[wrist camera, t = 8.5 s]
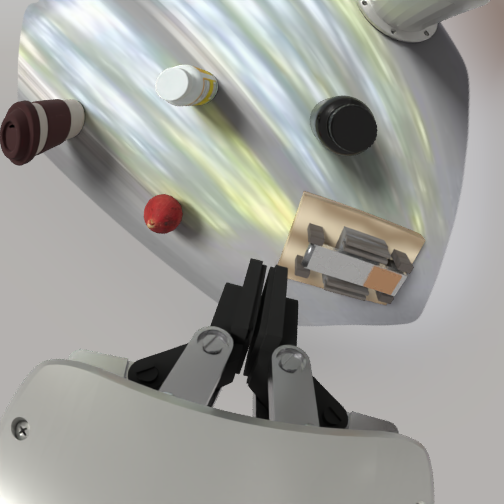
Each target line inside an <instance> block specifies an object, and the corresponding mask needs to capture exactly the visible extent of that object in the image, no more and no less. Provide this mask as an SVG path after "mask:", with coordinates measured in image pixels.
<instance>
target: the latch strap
mask: <svg viewBox="0 0 504 504" xmlns="http://www.w3.org/2000/svg"><path fill="white" fill-rule="evenodd" d="M301 265H302V266H303V267H304V268H306V269H310V270H313V271H316V272H319V273H322V274H325V275H329V276H332V277H335V278H338V279H341V280H344V281H348V282H351V283H354V284H357V285H360V286H364V287H367V288H370V289H373V290H376V291H379V292H383V293H386V294H389V295H392V296H395V295H396V293H397V292H398V290H399V289H400V287H401V286H402V284H403V283H404V281H405V279H406V278H407V275H406V273H405V272H403V271H400V270H397V269H394V268H391V267H389V266H386V265H383V264H380V263H377V262H375V261H372V260H369V259H366V258H363V257H360V256H357V255H354V254H352V253H349V252H346V251H343V250H340V249H337V248H334V247H331V246H328V245H325V244H323V246H319V245H316V244H313V243H309V245H308V247H307V249H306V252H305V254H304V257H303V259H302V261H301Z"/></svg>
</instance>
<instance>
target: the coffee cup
mask: <svg viewBox="0 0 504 504" xmlns="http://www.w3.org/2000/svg"><path fill="white" fill-rule="evenodd" d="M84 119H85V114H84V109H83V107H82V105H81V104H80V103H79V102H78V101H76V100H60V99H55V100H43V101H35V102H32V103H31V102H29V101H20V102H17V103H15V104H13V105H12V106H11V107H10V109H9V110H8V112H7V114H6V117H5V118H4V120H3V122H2V125H1V128H0V144H1V148H2V151H3V153H4V155H5V156H6V157H7V158H9V159H10V160H11V162H13V163H14V164H15V165H23V164H26V163H28V162H29V161H31V160H32V159H33V158H34V156H36V155H39V154H41V153H43V152H45V151H47V150H49V149H51V148H53V147H55V146H57V145H60V144H61V143H63V142H64V141H66V140H68V139H70V138H73V137H75V136H76V135H78V134H79V132H80V131H81V129H82V127H83V124H84Z"/></svg>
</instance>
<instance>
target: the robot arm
mask: <svg viewBox="0 0 504 504" xmlns="http://www.w3.org/2000/svg"><path fill="white" fill-rule="evenodd" d="M490 1H491V0H357V4H358V6H359V8H360V10H361V12H362V13H363V15H364V16H365V17H366V19H367V20H368V21H369V22H370V23H371V24H372V25H373V26H375V27H376V28H377V29H378V30H380V31H381V32H383V33H384V34H386V35H388V36H390V37H391V38H394V39H397V40H399V41H403V42H409V43H416V42H422V41H424V40H427V39H429V38H430V37H431V36H432V35H433V34H434V33H435V31H436V29H437V25H438V23H439V22H441V21H443V20H446V19H448V18H451V17H453V16H456V15H458V14H461V13H464V12H466V11H469V10H472V9H475V8H477V7H481V6H483V5H485V4H487V3H488V2H490ZM363 4H364V5H363ZM391 32H393V34H392V33H391ZM262 263H263V261H260V260H256V259H252V258H251V260H250V263H249V267H248V270H247V274H246V277H245V281H244V284H243V287H242V286H238V285H234V284H231V283H226V284H225V287H224V290H223V293H222V295H221V298H220V301H219V304H218V306H217V309H216V312H215V315H214V317H213V320H212V323H211V326H208V327H203V328H201V329H199V330H198V331H197V332H196V333H195V334H194V336H193V337H192V339H191V340H190V342H189V343H187V344H185V345H182V346H179V347H176V348H173V349H170V350H167V351H164V352H161V353H158V354H155V355H152V356H149V357H146V358H143V359H140V360H138V361H136V362H132V361H128V359H127V358H122V357H117V356H112V355H107V354H102V353H97V352H93V351H89V350H77V351H75V352H73V353H72V354H71V355H70V356H69V358H68V360H64V359H53V360H46V361H44V362H42V363H40V364H39V365H37V366H36V367H35V368H34V369H33V370H32V371H31V372H30V373H29V374H28V376H27V377H26V378H25V379H24V381H23V382H22V384H21V385H20V386H19V388H18V389H17V391H16V393H15V394H14V396H13V397H12V399H11V401H10V402H9V404H8V406H7V408H6V410H5V412H4V414H3V416H2V418H1V420H0V504H434V482H433V472H432V467H431V462H430V458H429V455H428V452H427V450H426V449H425V447H424V446H423V445H422V444H421V443H419V442H418V441H416V440H414V439H412V438H410V437H407V436H404V435H401V434H399V433H398V429H397V428H396V426H395V425H394V424H393V423H391V422H389V421H385V420H381V419H378V418H374V417H370V416H367V415H363V414H360V413H356V412H353V411H352V412H351V413H349V412H346V410H345V409H344V408H343V407H342V406H341V405H340V403H339V402H338V401H337V400H336V399H335V398H334V397H333V396H332V395H331V394H330V393H329V392H328V391H327V390H326V389H325V388H324V387H323V386H322V385H321V384H320V383H319V382H318V381H317V380H316V379H315V378H314V377H313V376H312V371H311V364H310V360H309V357H308V356H307V354H306V353H305V352H304V351H303V350H302V349H300V348H298V347H297V325H298V300H294V299H290V298H286V291H287V278H288V268H287V267H283V266H279V265H276V266H275V268H274V267H270V269H269V273H268V276H267V279H266V283H265V286H264V289H263V283H264V278H265V273H266V267H267V266H266V265H262ZM262 289H263V292H262ZM261 294H262V295H261ZM248 348H249V350H248ZM247 351H248V354H247V359H246V364H245V369H244V374H243V375H244V376H248V378H247V383H248V386H249V387H250V389H251V390H252V391H253V392H254V393H253V417H250V416H245V415H241V414H236V413H232V412H227V411H223V410H219V409H216V408H213V406H214V404H215V402H216V400H217V398H218V396H219V394H220V392H221V389H222V387H223V386H225V385H227V384H229V383H231V382H233V379H234V376H235V373H236V374H240V371H241V368H242V365H243V362H244V359H245V356H246V353H247Z"/></svg>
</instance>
